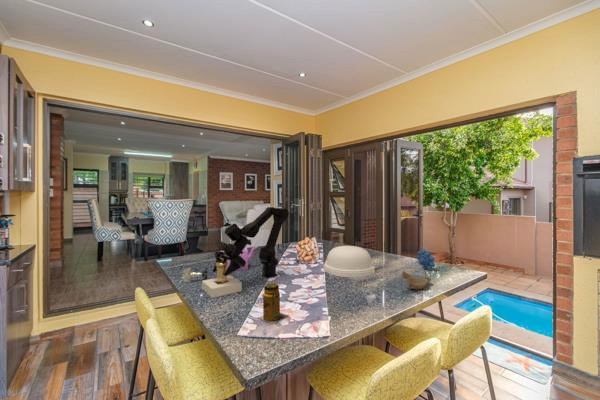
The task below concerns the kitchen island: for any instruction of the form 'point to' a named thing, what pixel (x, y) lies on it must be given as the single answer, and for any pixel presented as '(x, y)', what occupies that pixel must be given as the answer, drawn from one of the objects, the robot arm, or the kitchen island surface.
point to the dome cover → (349, 262)
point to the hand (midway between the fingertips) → (219, 273)
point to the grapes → (425, 259)
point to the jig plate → (221, 287)
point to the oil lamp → (415, 281)
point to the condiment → (271, 304)
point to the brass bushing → (221, 272)
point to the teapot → (245, 257)
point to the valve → (193, 274)
